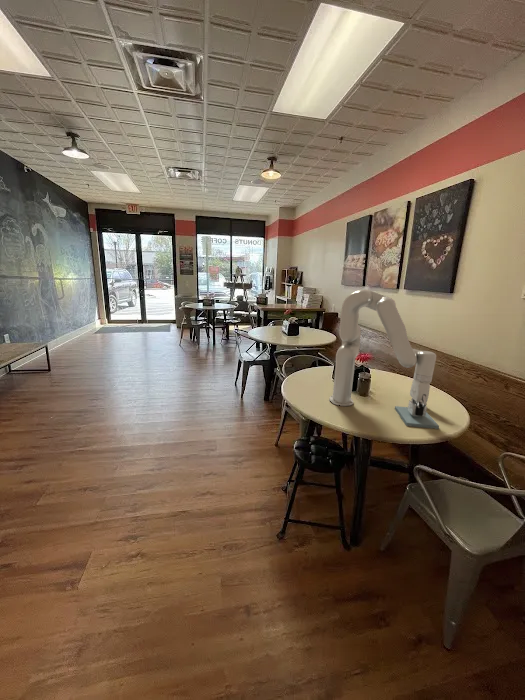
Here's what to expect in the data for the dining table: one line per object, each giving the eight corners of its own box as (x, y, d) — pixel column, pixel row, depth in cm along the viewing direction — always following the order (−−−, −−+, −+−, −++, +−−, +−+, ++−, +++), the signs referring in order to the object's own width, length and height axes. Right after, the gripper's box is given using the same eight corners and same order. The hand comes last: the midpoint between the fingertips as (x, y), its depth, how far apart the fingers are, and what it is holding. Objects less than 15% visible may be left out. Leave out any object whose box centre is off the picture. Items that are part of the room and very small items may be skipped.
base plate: (394, 408, 152) (396, 399, 150) (423, 411, 150) (425, 401, 148) (406, 425, 134) (408, 414, 133) (438, 429, 133) (440, 418, 131)
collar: (407, 409, 145) (409, 400, 143) (420, 410, 144) (422, 401, 143) (411, 415, 139) (413, 405, 138) (425, 416, 138) (427, 406, 137)
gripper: (408, 370, 146) (402, 404, 150) (421, 383, 129) (414, 419, 133) (424, 372, 145) (417, 405, 149) (439, 384, 128) (431, 421, 133)
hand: (416, 411), depth 141 cm, fingers closed on collar, 6 cm apart
